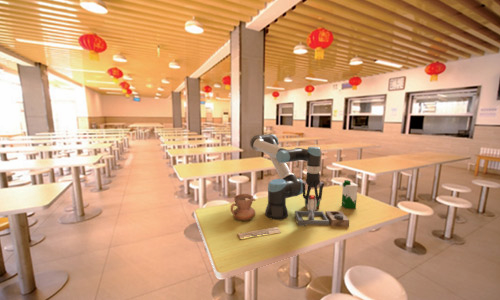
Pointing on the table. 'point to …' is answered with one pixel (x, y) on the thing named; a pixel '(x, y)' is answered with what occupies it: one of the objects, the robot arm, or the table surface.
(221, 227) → the table surface
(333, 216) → the block
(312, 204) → the pin
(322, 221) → the tray
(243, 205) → the ceramic jug
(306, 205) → the half moon wedge
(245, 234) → the newspaper
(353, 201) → the milk carton
